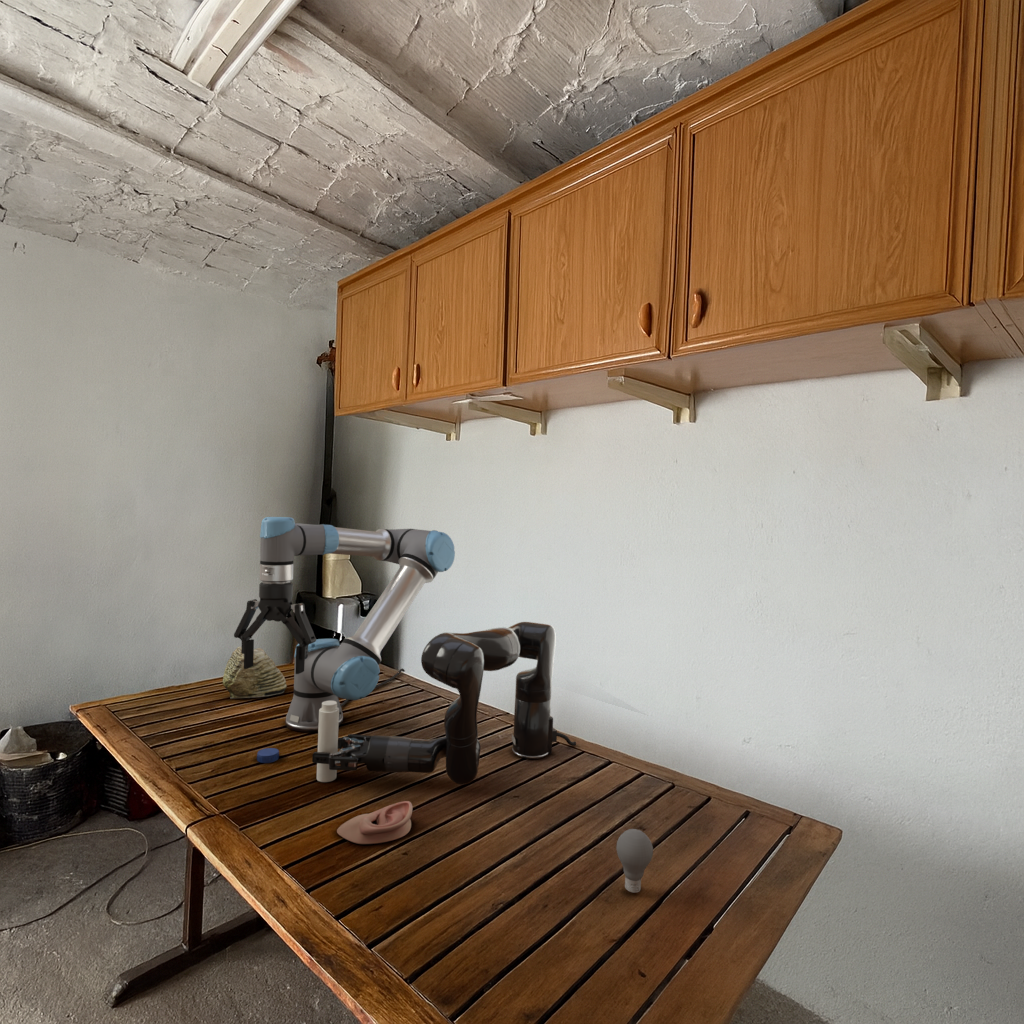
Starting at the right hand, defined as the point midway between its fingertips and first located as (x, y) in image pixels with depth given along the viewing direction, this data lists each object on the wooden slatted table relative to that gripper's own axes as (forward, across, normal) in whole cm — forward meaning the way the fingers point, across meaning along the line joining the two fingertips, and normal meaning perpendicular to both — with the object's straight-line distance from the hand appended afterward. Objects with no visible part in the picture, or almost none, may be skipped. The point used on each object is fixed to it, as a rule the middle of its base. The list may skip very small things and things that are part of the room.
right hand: (319, 749), depth 143 cm
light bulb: (-65, +35, +6) cm, 74 cm away
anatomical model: (-18, +21, +6) cm, 28 cm away
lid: (+15, -8, +5) cm, 18 cm away
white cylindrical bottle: (-2, 0, +6) cm, 7 cm away
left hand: (+15, -9, -15) cm, 23 cm away
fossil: (+39, -54, +6) cm, 67 cm away
